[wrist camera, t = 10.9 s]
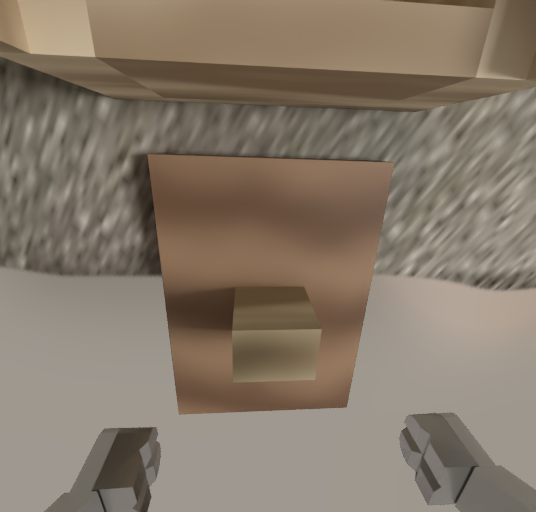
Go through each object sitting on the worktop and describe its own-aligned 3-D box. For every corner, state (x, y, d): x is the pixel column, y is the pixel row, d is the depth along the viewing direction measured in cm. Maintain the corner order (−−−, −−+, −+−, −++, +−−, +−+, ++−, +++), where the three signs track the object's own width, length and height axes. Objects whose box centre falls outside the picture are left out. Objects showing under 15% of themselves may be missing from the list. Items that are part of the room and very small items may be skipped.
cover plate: (160, 153, 15) (106, 157, 9) (376, 160, 16) (449, 168, 10) (185, 390, 21) (162, 479, 15) (338, 385, 22) (369, 466, 16)
